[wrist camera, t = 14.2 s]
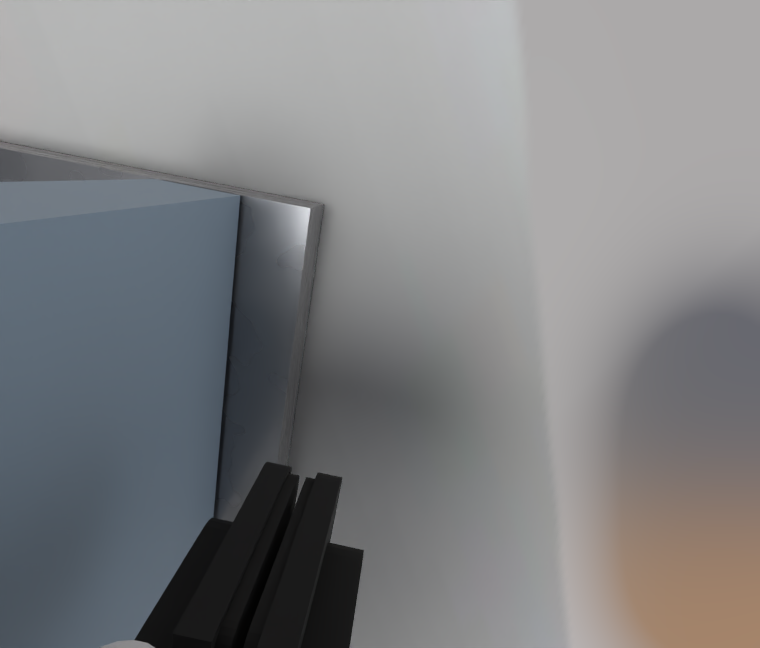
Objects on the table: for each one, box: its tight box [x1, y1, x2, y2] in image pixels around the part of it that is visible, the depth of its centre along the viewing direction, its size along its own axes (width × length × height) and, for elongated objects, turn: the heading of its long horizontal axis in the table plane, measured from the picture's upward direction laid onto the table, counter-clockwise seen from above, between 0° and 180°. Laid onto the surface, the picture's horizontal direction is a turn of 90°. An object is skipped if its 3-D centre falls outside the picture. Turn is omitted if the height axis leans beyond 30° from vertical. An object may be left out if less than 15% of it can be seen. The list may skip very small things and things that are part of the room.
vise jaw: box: [0, 179, 240, 648], centre depth 11 cm, size 12×2×9 cm, turn 170°
